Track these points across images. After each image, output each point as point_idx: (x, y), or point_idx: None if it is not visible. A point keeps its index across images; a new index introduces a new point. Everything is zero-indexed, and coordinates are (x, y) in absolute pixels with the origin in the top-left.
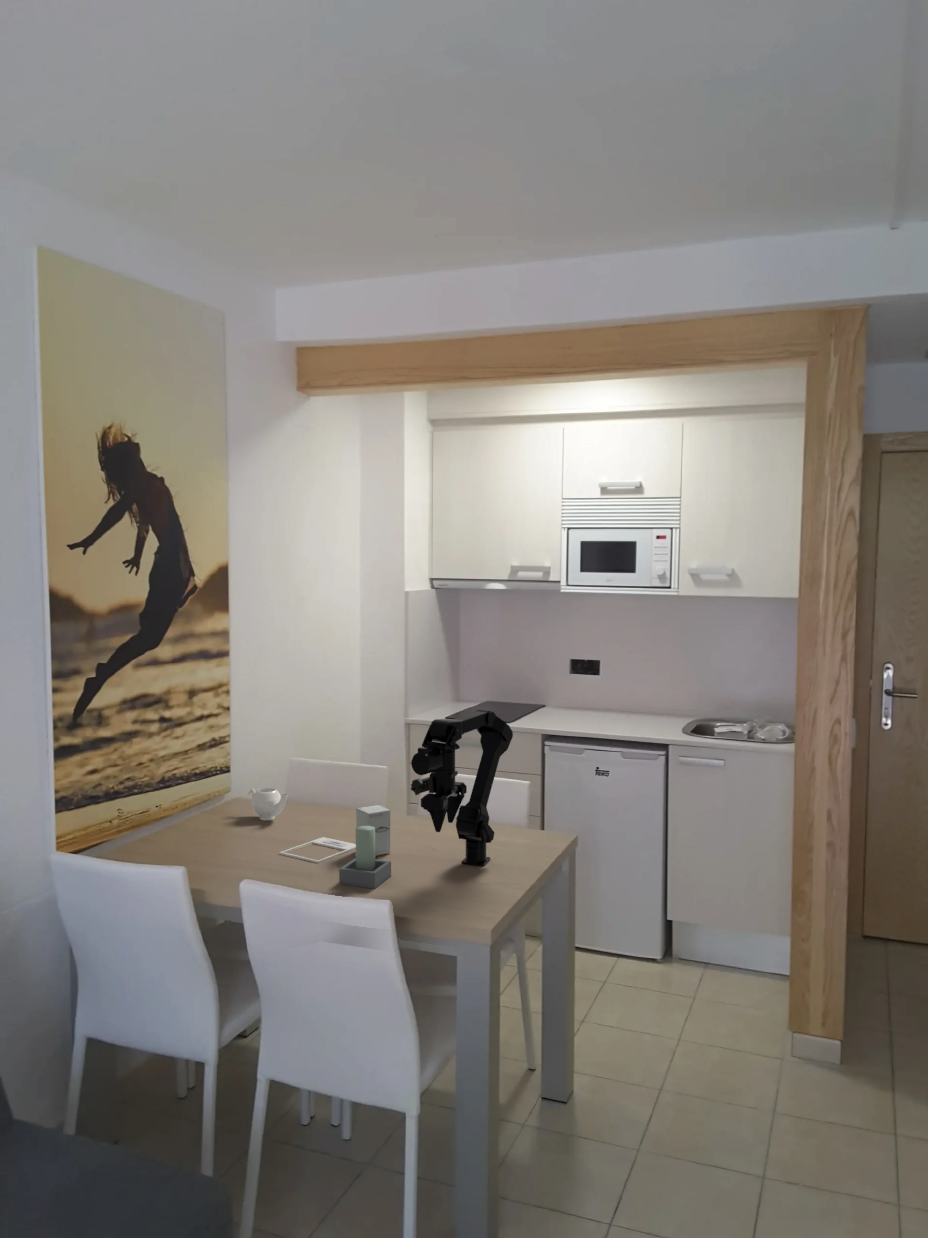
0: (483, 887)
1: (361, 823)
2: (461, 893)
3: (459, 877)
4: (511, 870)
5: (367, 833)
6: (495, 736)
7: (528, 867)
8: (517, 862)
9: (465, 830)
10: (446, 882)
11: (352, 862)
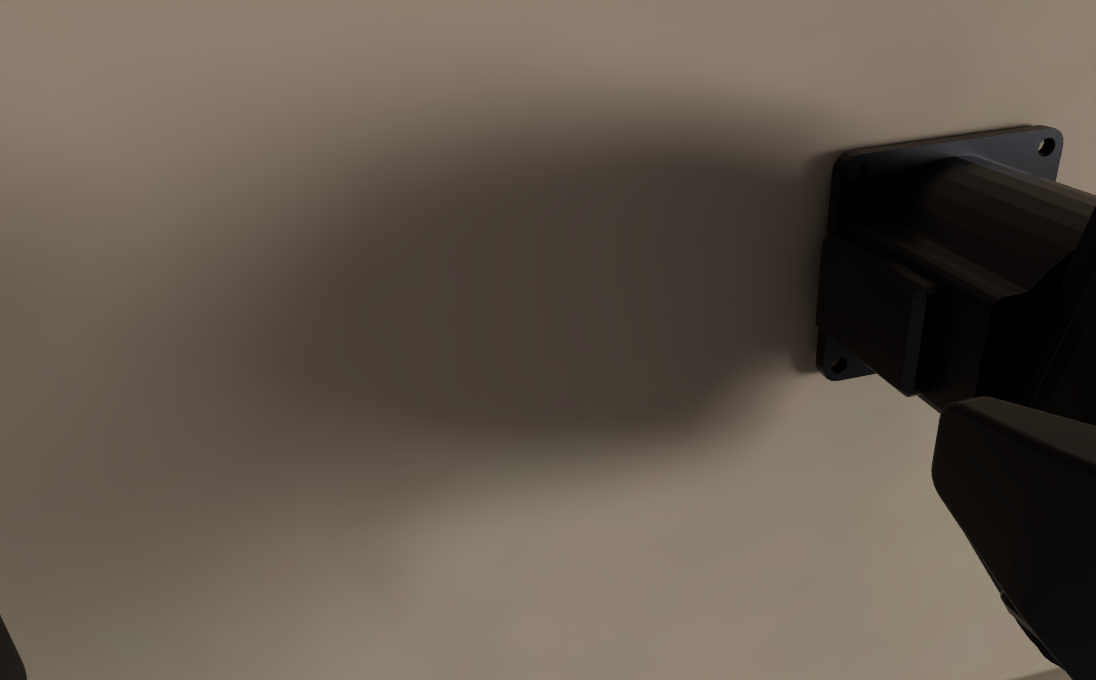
0: (298, 624)
1: None
2: (24, 566)
3: (443, 332)
4: (783, 586)
5: None
6: None
7: (879, 639)
8: None
9: (1072, 408)
10: (228, 294)
11: None
